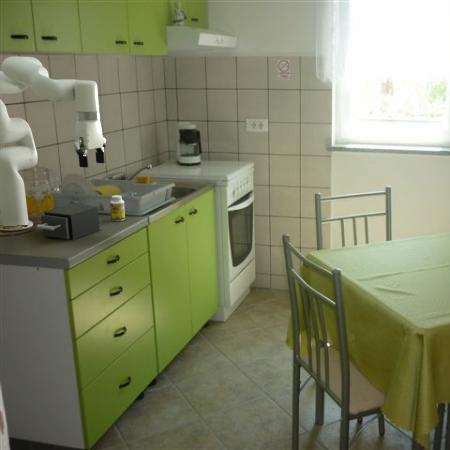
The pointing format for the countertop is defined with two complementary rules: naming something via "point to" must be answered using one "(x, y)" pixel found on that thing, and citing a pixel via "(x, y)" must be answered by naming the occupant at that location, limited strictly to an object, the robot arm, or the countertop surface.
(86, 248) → the countertop surface
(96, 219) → the dark grey box
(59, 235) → the drawer
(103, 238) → the countertop surface
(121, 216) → the supplement bottle
